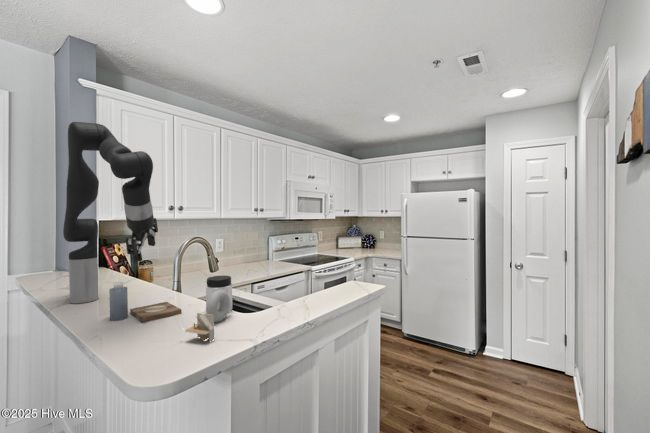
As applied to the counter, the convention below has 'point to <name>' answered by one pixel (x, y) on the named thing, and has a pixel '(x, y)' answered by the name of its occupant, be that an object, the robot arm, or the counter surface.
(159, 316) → the walnut board
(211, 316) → the architectural model
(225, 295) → the donut
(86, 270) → the robot arm
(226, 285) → the jar
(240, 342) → the counter surface
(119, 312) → the bottle
